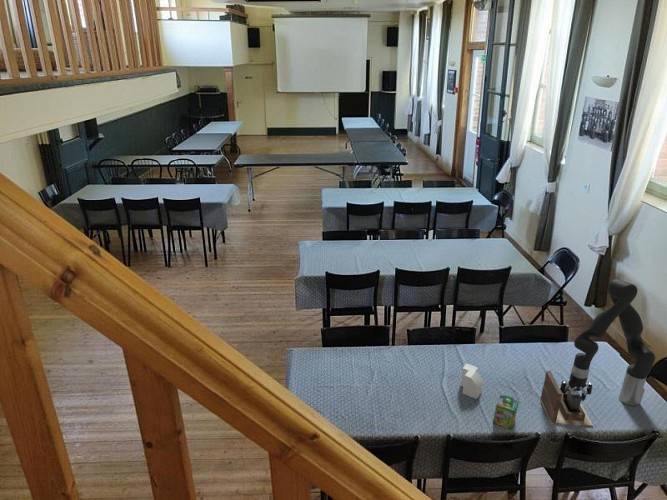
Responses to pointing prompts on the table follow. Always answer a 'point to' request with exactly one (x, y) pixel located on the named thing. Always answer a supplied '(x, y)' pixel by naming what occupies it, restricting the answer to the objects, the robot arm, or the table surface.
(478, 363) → the table surface
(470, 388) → the white stepped block
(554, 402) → the post socket
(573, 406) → the dark grey block
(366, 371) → the table surface
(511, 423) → the chalk box
